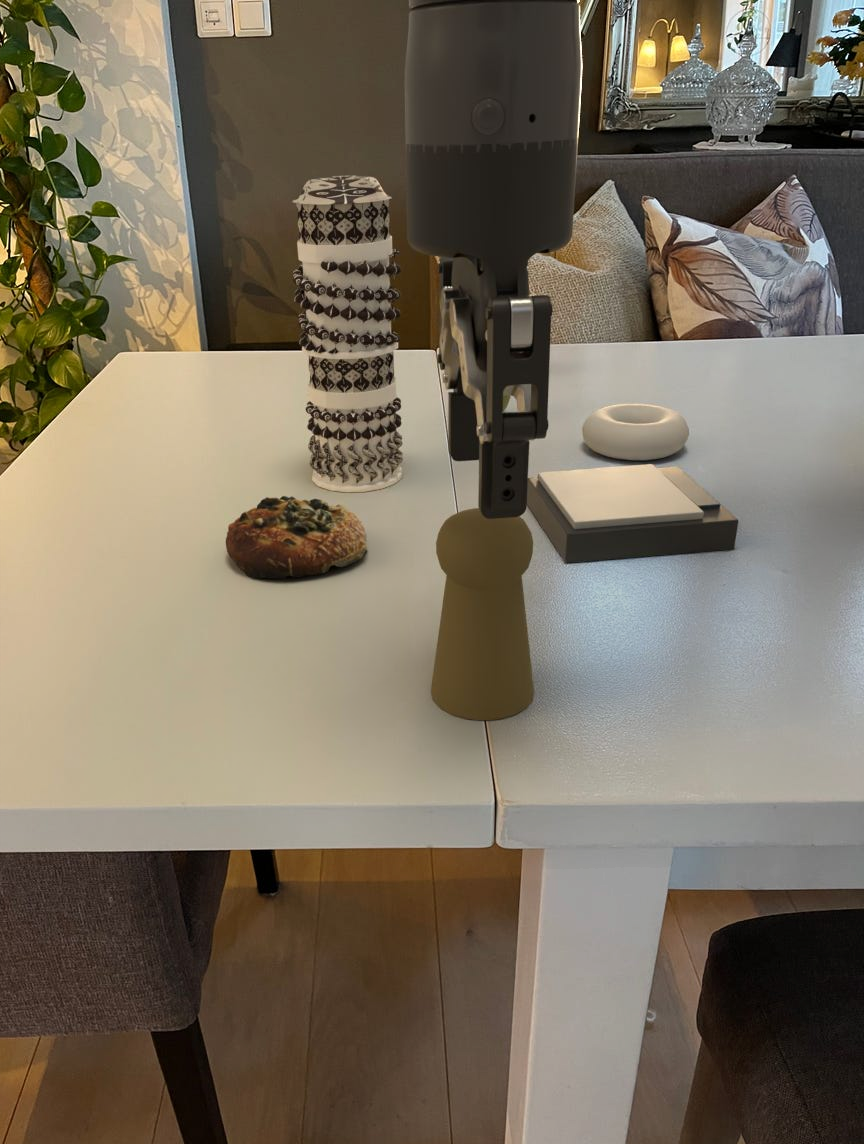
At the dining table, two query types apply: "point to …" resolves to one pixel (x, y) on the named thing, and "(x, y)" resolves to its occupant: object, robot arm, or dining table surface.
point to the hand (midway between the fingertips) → (484, 484)
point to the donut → (635, 432)
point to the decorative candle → (349, 332)
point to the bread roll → (294, 538)
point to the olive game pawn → (483, 617)
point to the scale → (628, 513)
